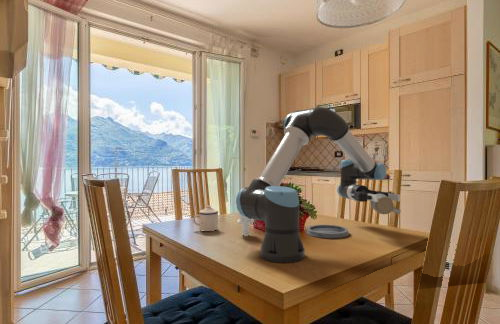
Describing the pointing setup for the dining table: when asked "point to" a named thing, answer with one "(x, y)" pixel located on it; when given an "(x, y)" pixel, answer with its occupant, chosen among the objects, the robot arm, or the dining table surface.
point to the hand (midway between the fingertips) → (388, 198)
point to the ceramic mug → (384, 205)
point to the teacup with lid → (208, 219)
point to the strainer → (244, 224)
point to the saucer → (327, 231)
